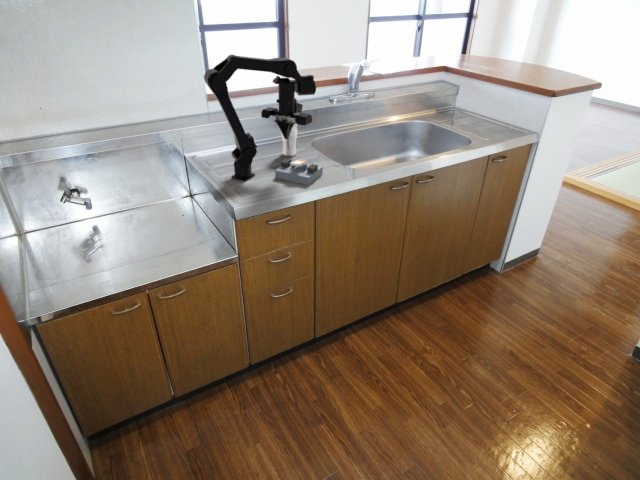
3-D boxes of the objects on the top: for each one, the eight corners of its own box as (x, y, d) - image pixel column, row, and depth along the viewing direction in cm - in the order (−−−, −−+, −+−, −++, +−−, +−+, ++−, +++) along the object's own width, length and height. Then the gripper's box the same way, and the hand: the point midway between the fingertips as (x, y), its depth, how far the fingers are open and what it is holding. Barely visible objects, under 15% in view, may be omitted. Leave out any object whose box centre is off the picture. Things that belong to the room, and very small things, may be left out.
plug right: (312, 173, 156) (312, 168, 155) (307, 172, 157) (307, 167, 156) (317, 170, 159) (317, 165, 158) (311, 168, 160) (312, 163, 159)
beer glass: (298, 151, 184) (298, 116, 177) (296, 157, 179) (296, 121, 171) (282, 150, 185) (282, 116, 177) (279, 156, 179) (279, 120, 171)
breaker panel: (308, 185, 155) (308, 172, 152) (275, 177, 160) (274, 164, 157) (322, 174, 164) (322, 161, 161) (290, 167, 169) (290, 154, 166)
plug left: (286, 168, 160) (286, 163, 159) (281, 166, 161) (280, 161, 160) (291, 164, 163) (291, 159, 162) (286, 163, 164) (286, 158, 163)
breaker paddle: (298, 166, 155) (298, 164, 155) (289, 164, 156) (290, 162, 156) (308, 163, 162) (308, 160, 162) (300, 161, 163) (300, 159, 163)
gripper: (320, 95, 154) (318, 137, 162) (276, 88, 161) (276, 129, 169) (305, 101, 145) (304, 145, 153) (259, 94, 152) (261, 136, 160)
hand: (286, 138), depth 159 cm, fingers closed
